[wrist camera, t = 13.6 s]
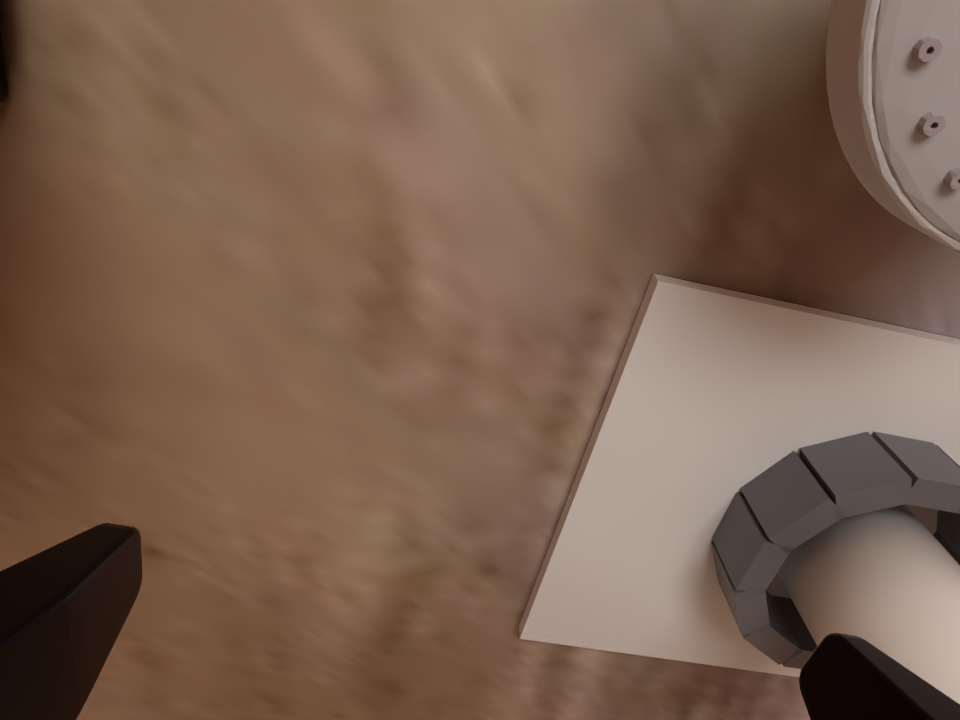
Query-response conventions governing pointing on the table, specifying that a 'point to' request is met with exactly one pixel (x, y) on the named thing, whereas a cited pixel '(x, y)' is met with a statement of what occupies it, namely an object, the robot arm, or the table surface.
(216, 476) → the table surface
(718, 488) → the socket
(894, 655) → the canister
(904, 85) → the showerhead
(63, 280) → the table surface
